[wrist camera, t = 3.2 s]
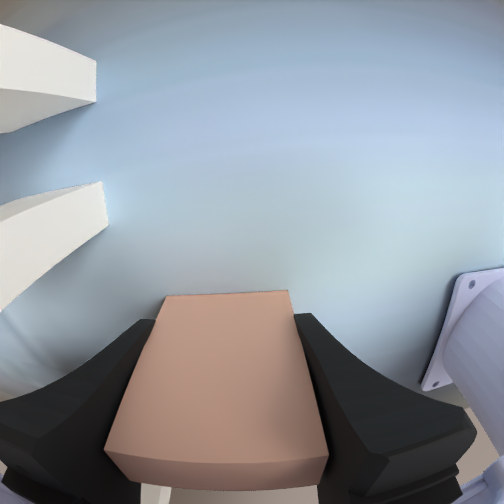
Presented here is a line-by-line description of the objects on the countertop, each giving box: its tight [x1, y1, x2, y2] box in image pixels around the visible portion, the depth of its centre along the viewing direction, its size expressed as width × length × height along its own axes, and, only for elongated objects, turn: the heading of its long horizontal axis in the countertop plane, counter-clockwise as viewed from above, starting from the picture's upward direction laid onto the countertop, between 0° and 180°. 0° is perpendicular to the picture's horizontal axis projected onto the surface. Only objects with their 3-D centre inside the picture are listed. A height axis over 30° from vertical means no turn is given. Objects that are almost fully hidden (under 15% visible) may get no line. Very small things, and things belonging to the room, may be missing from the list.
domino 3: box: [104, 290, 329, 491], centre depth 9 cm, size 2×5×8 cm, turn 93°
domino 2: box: [0, 181, 109, 312], centre depth 7 cm, size 2×5×8 cm, turn 93°
